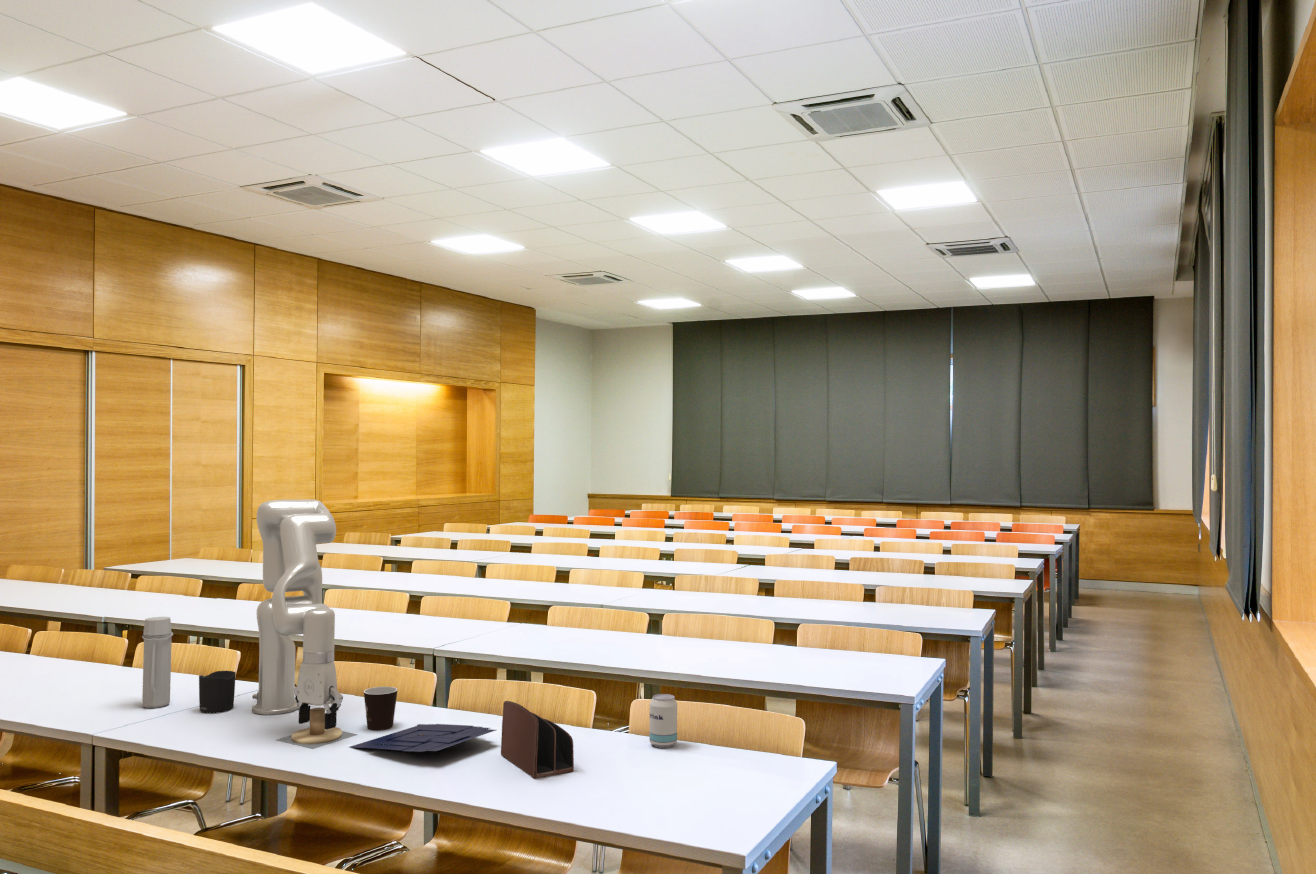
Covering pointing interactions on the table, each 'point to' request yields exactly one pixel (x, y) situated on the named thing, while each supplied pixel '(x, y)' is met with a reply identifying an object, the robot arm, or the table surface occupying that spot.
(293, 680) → the robot arm
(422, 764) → the table surface
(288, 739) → the mat
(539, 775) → the letter holder
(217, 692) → the pen holder
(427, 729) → the dark blue tray
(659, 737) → the beverage can
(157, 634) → the water bottle
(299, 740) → the lid
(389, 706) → the coffee mug
